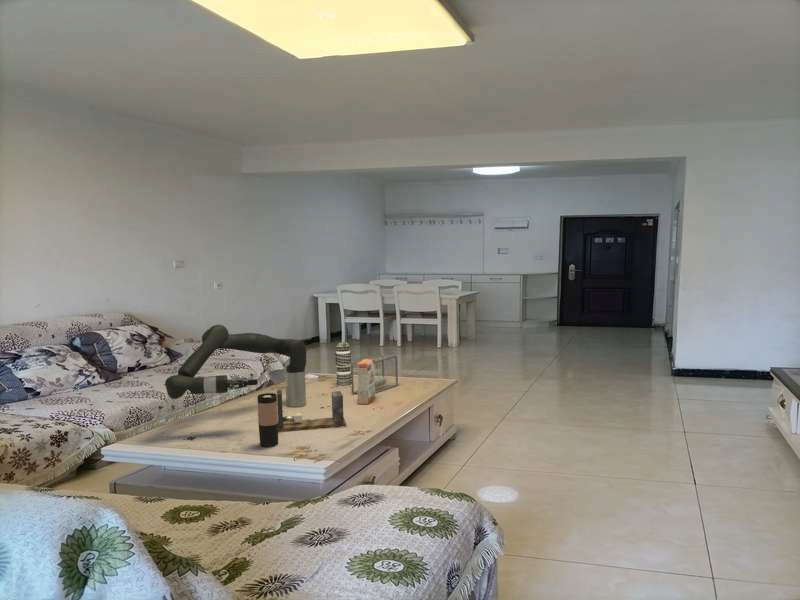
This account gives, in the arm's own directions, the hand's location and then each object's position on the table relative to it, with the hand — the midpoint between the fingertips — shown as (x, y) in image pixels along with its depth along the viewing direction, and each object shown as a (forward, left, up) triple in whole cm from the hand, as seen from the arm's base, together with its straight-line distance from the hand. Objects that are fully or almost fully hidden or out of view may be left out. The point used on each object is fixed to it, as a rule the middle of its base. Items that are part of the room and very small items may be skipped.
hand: (257, 382), depth 261 cm
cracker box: (+5, +64, -21) cm, 68 cm away
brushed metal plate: (+7, +9, -19) cm, 22 cm away
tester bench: (+13, +16, -21) cm, 30 cm away
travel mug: (+19, -11, -21) cm, 31 cm away
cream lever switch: (+9, +14, -19) cm, 25 cm away
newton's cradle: (-8, +86, -21) cm, 89 cm away
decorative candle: (-30, +84, -21) cm, 92 cm away
